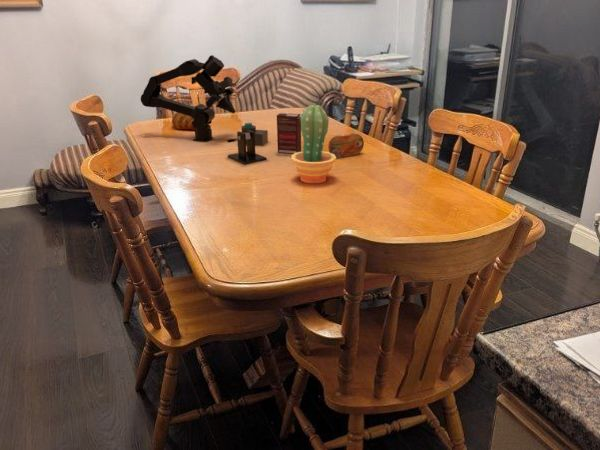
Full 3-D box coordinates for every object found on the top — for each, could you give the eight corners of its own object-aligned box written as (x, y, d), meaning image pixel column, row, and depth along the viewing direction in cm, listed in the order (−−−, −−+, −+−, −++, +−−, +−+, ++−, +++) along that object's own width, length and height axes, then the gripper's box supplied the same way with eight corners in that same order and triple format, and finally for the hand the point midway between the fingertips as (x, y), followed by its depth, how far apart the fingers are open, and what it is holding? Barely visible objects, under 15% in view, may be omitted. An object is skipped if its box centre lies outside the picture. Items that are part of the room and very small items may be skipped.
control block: (239, 144, 221) (238, 128, 219) (245, 140, 228) (244, 124, 225) (262, 146, 219) (261, 130, 216) (268, 142, 225) (267, 126, 222)
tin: (331, 159, 202) (331, 137, 199) (326, 157, 205) (327, 135, 201) (363, 154, 209) (364, 133, 205) (359, 152, 211) (360, 131, 208)
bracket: (227, 158, 204) (226, 130, 199) (249, 153, 210) (248, 126, 205) (244, 165, 195) (243, 137, 191) (266, 160, 201) (265, 132, 197)
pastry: (206, 129, 246) (205, 112, 243) (180, 132, 240) (178, 115, 236) (190, 120, 262) (188, 104, 259) (164, 124, 256) (163, 107, 252)
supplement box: (301, 153, 209) (301, 113, 203) (297, 157, 205) (297, 116, 199) (281, 151, 212) (280, 112, 206) (277, 155, 208) (276, 114, 201)
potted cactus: (337, 173, 187) (339, 102, 177) (333, 187, 173) (335, 111, 163) (295, 170, 189) (294, 100, 179) (287, 185, 175) (286, 110, 165)
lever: (227, 144, 205) (226, 138, 205) (241, 141, 208) (239, 135, 208) (241, 140, 196) (240, 134, 196) (255, 137, 199) (253, 131, 199)
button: (243, 128, 221) (243, 123, 220) (246, 126, 224) (246, 122, 223) (250, 128, 220) (250, 124, 219) (253, 126, 223) (253, 122, 222)
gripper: (210, 74, 207) (238, 103, 209) (229, 67, 224) (254, 95, 225) (194, 93, 212) (221, 122, 214) (213, 86, 229) (238, 112, 231)
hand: (234, 112), depth 221 cm, fingers closed
